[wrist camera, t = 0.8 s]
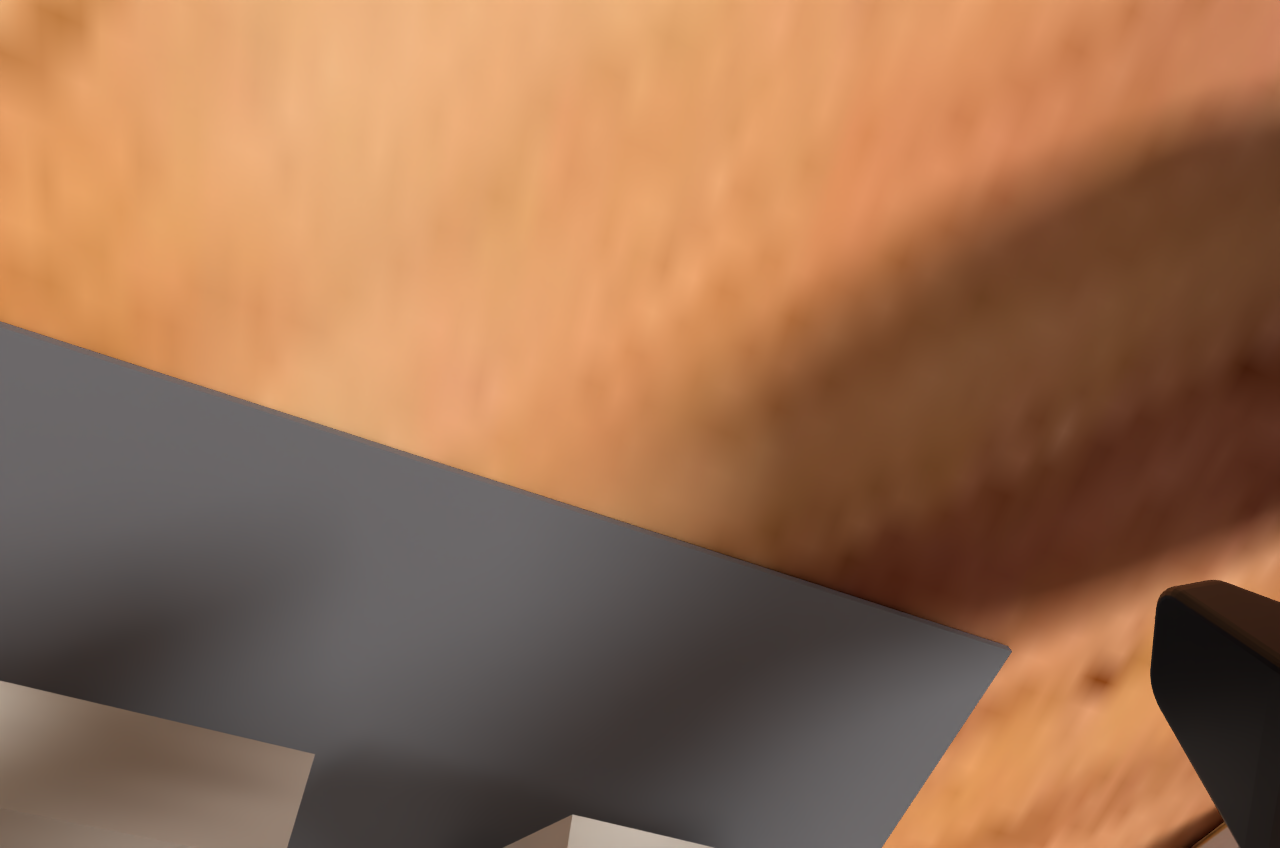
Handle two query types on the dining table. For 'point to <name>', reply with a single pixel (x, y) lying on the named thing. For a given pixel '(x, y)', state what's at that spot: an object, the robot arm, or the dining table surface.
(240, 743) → the plank
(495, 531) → the underlay mat
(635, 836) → the plank
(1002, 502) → the dining table surface
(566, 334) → the dining table surface
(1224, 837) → the candy box
